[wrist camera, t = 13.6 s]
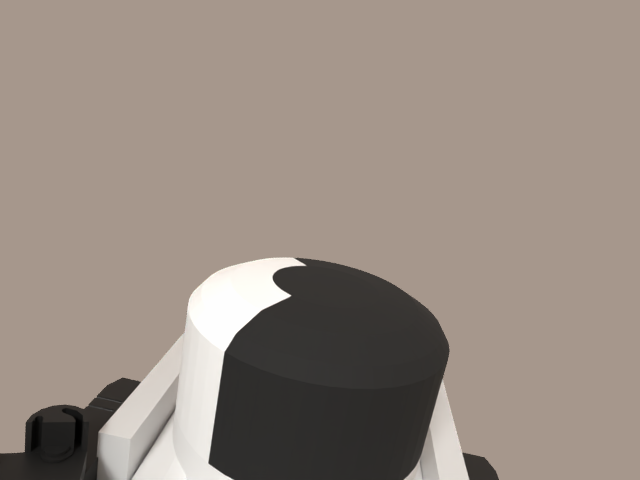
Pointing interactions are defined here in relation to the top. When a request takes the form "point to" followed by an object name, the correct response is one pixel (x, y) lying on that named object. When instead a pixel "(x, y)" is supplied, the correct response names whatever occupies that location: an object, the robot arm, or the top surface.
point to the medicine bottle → (301, 378)
